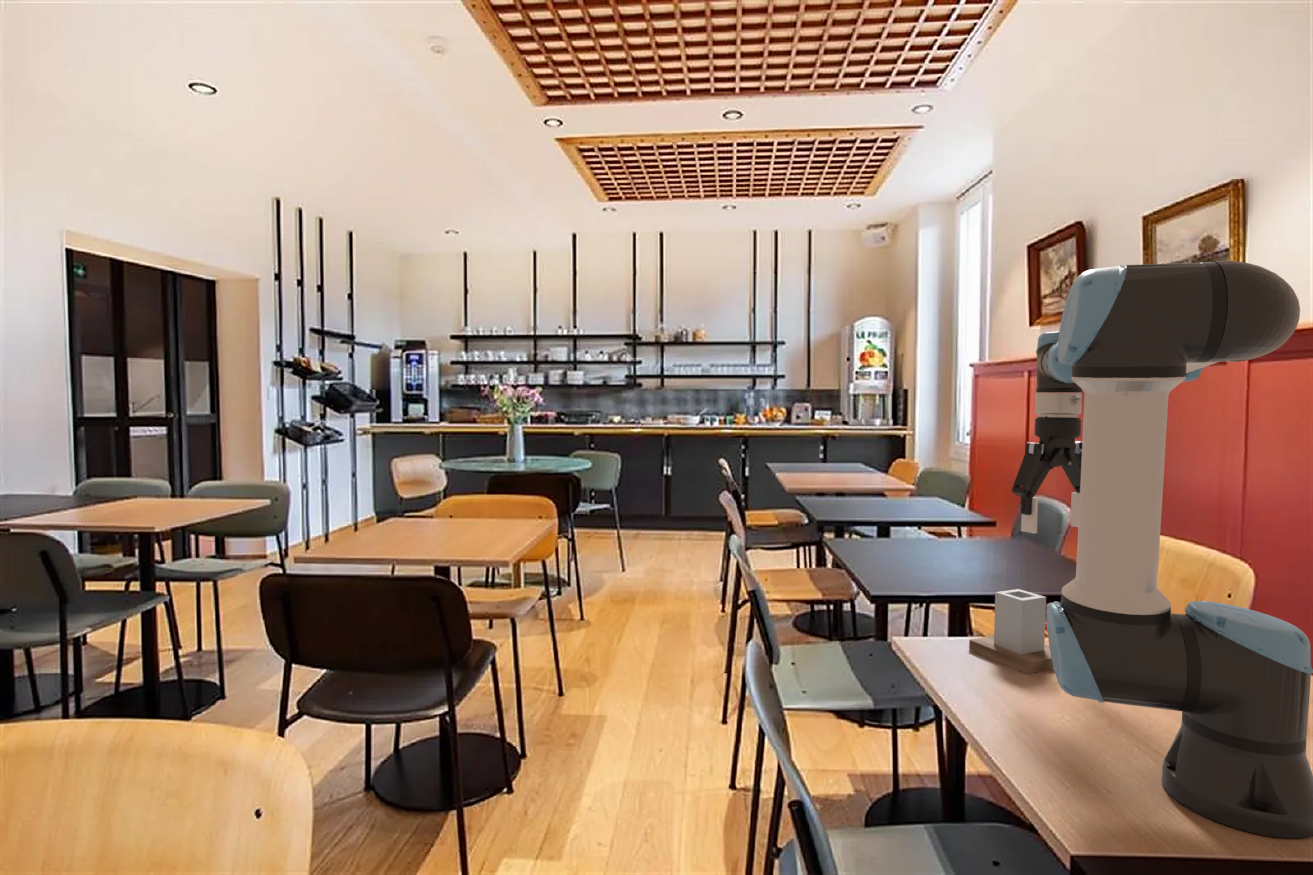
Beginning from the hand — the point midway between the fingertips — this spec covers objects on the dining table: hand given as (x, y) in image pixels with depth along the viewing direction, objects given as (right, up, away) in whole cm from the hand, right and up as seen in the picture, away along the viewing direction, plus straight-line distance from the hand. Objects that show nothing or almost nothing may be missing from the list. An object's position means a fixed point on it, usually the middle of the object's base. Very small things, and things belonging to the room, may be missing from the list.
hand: (1054, 529), depth 133 cm
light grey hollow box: (-6, -22, +1) cm, 23 cm away
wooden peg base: (-6, -24, +1) cm, 25 cm away
